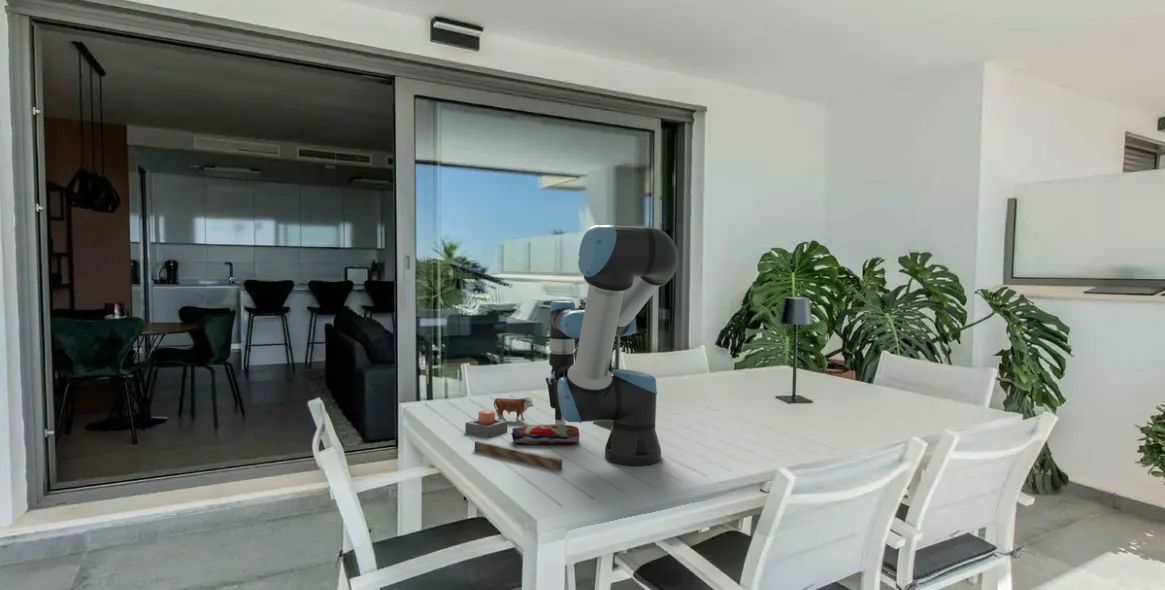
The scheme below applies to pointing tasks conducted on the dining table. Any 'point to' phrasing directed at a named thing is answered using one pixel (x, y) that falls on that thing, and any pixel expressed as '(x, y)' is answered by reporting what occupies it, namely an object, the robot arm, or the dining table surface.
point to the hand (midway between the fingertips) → (560, 429)
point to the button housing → (486, 428)
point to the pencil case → (546, 434)
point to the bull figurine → (512, 406)
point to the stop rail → (519, 455)
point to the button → (486, 417)
